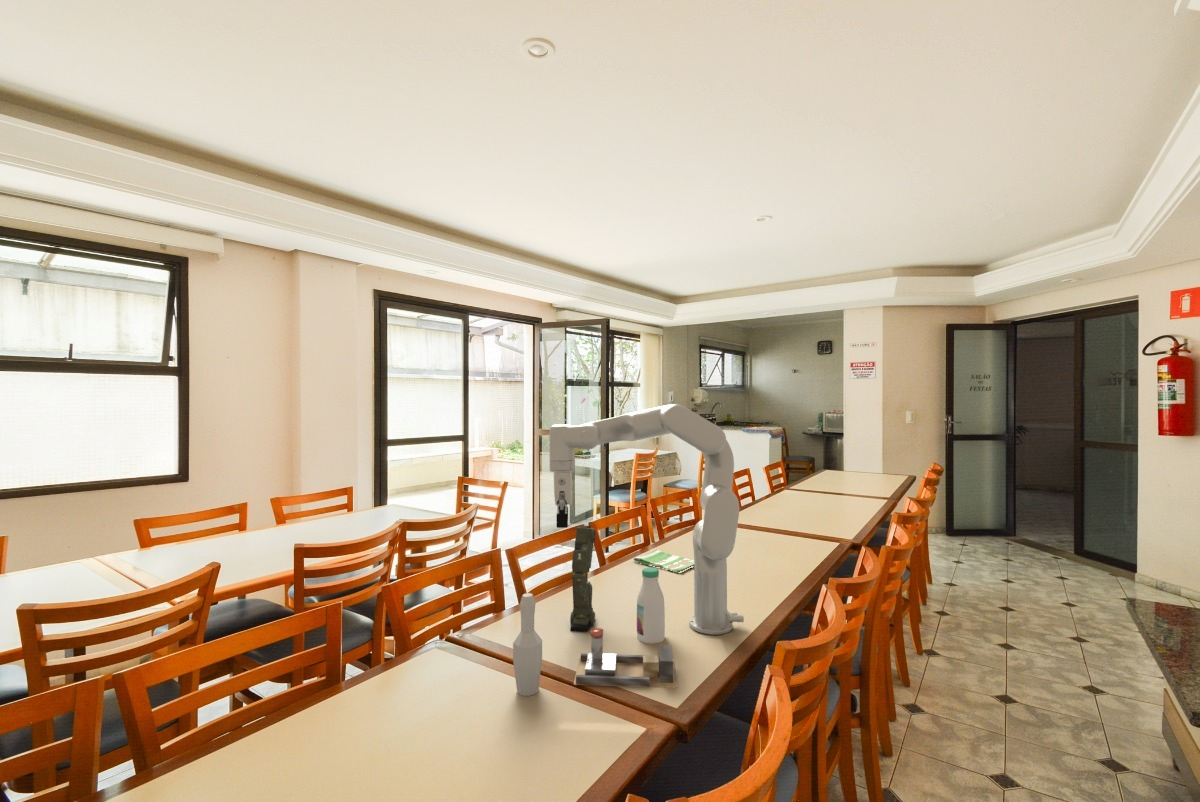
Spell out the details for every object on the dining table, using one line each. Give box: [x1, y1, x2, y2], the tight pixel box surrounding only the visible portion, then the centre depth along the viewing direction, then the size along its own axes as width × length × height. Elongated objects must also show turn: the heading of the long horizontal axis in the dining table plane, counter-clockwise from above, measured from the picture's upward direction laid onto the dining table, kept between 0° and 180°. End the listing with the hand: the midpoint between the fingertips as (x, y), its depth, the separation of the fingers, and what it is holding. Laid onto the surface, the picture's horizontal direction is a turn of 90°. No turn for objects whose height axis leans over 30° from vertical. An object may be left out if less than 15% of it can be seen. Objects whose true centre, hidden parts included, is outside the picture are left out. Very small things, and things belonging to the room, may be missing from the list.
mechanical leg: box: [569, 525, 597, 633], centre depth 160 cm, size 14×7×30 cm, turn 168°
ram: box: [585, 627, 617, 676], centre depth 128 cm, size 7×8×10 cm
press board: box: [573, 644, 679, 689], centre depth 127 cm, size 24×12×6 cm, turn 86°
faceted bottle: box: [512, 592, 543, 697], centre depth 122 cm, size 6×6×22 cm
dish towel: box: [633, 549, 694, 573], centre depth 218 cm, size 18×23×3 cm
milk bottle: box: [636, 566, 666, 644], centre depth 147 cm, size 8×8×20 cm
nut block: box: [642, 654, 659, 677], centre depth 127 cm, size 4×4×4 cm
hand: (562, 523), depth 157 cm, fingers open, 9 cm apart
